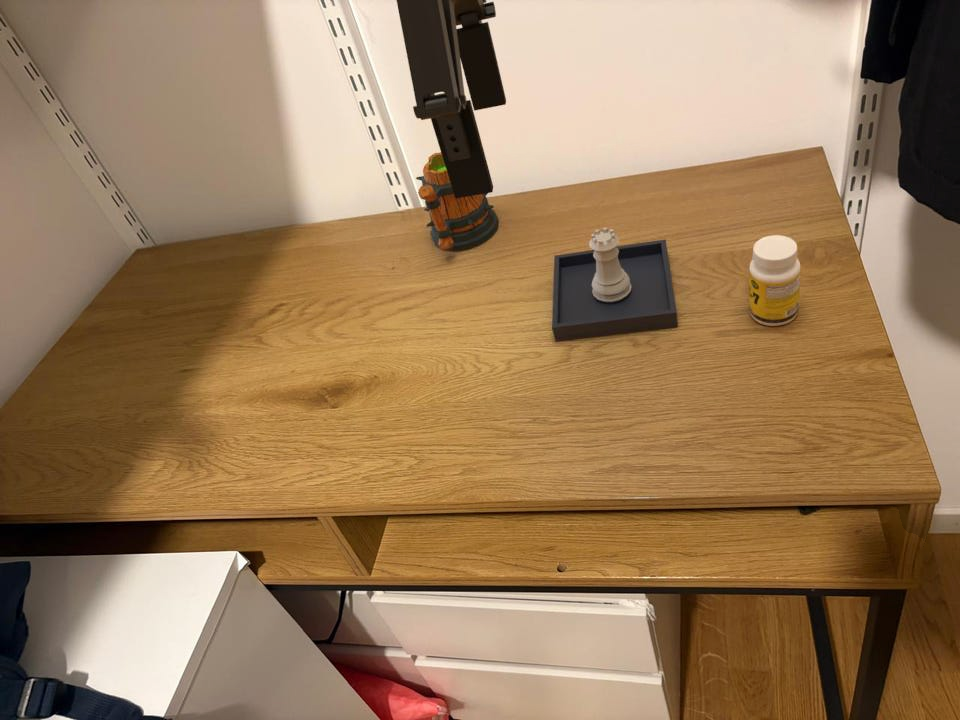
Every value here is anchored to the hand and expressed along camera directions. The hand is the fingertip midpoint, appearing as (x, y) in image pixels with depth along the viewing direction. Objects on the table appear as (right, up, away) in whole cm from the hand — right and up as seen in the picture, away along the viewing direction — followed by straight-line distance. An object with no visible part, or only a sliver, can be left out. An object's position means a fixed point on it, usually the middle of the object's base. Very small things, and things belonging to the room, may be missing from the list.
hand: (483, 146), depth 57 cm
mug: (-3, 0, +45) cm, 45 cm away
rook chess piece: (+15, -9, +28) cm, 33 cm away
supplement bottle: (+30, -12, +20) cm, 38 cm away
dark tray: (+15, -9, +28) cm, 33 cm away
